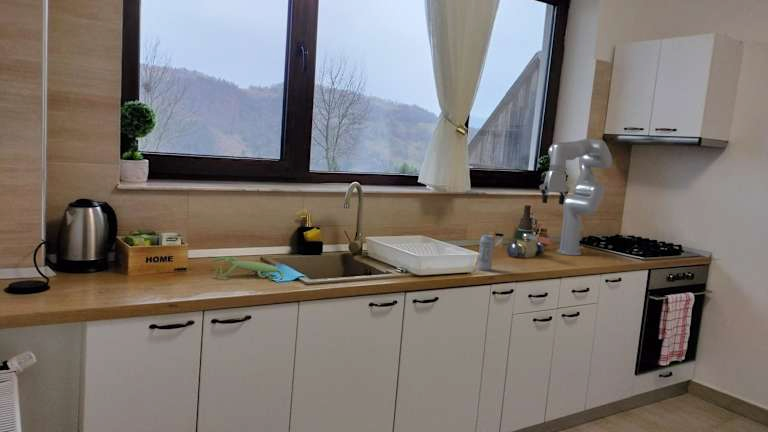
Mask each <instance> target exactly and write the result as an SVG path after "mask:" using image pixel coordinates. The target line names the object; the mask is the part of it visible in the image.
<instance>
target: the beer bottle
mask: <svg viewBox="0 0 768 432" xmlns="http://www.w3.org/2000/svg"><path fill="white" fill-rule="evenodd" d="M523 208H524V209H523V214H522V220H521V221H520V222H519V224H518V226H517V227H518V228H517V235H516V241H517V240H524V239H523V233H529V234H532V235H533V227H534V226H533V223H532V221H531V209H532V206H531V205H528V204H525V205H524V206H523ZM515 244H517V242H516V243H515Z"/></svg>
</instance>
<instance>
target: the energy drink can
mask: <svg viewBox="0 0 768 432" xmlns="http://www.w3.org/2000/svg"><path fill="white" fill-rule="evenodd" d="M479 240H480V241H479V248H478V259H477V268H478V270H480V271H488V272H489V271H491V269H492V266H493V255H494V245H495V244H494V243H495V239H494V236H493V235H490V234H489V235H488V234H482V235H481V238H480V239H479ZM479 254H480V255H479Z"/></svg>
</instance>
